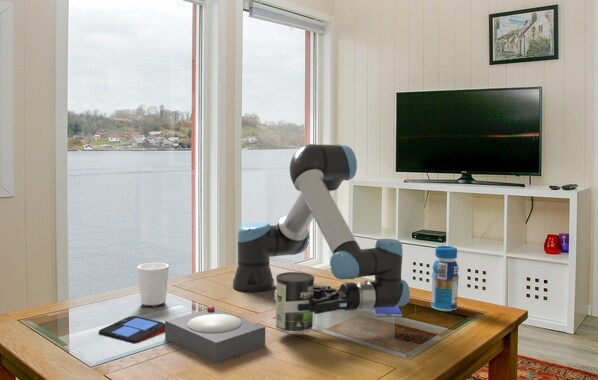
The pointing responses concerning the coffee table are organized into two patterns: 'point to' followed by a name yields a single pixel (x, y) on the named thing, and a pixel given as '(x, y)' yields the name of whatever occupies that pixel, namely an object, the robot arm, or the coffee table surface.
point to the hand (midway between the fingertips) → (279, 301)
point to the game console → (133, 329)
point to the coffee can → (294, 289)
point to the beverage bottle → (445, 279)
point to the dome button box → (215, 334)
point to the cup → (153, 283)
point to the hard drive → (387, 311)
